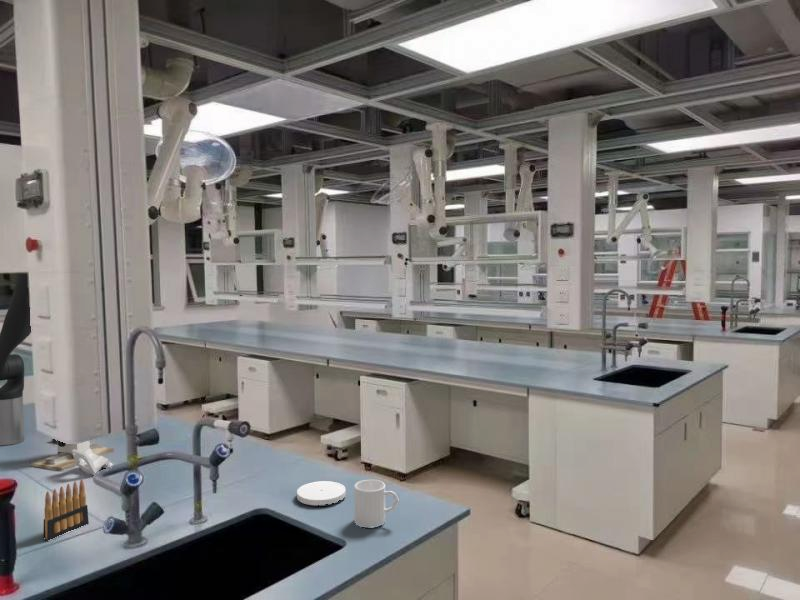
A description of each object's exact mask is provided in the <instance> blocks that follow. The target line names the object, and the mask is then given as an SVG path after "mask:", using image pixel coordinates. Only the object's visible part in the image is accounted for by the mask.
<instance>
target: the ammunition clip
mask: <svg viewBox="0 0 800 600" xmlns="http://www.w3.org/2000/svg"><path fill="white" fill-rule="evenodd" d="M65 488H66V490H65V489H64V487H63V486H60V488H59V491H57V489H56V488H54V489H53V491H52V497H51V494H50V492H49V491H46V493H45V497H44V498H45V499H44V501H45V502H44V519H43V539H44V538H45V539H46V540H50V539H53V538H55V537H57V536H59V535H62V534H64V533H66V532H68V531H71V530H74V529H76V530H78V529H80V528H82V527H81V526H83V527H85V526H86V524H87V525H90V524H89V522H90V521H89V511H88V504H87V496H86V488H85V482H84V480H83V478H81V479H80V482H79V486H78V484H77V481H74V482H73V485H72V487H71V485H70V484H69V483H67V485H66V487H65ZM58 492H59V494H58ZM84 525H85V526H84ZM79 527H80V528H79ZM77 528H78V529H77ZM74 531H75V530H74ZM71 532H72V531H71ZM64 535H65V534H64ZM62 536H63V535H62ZM55 539H56V538H55ZM46 540H45V541H46ZM53 540H54V539H53Z"/></svg>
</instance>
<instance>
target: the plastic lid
mask: <svg viewBox="0 0 800 600" xmlns="http://www.w3.org/2000/svg"><path fill="white" fill-rule="evenodd" d="M345 495H346V496H347V488H346V486H345V485H343V484H342V483H339V482H336V481H328V480H322V481H321V480H320V481H314V482H313V481H312V482H309V483H305V484H302V485H301V486H299V487H298V488H297V490H296V499H297V501H298V502H300V503H302V504H305V505H309V506H318V505H319V506H326V505H325V504H328V505H332V503H334V504H336V503H338V501H339V500H341V501H342V500H344V499H345V498H346V496H345ZM344 497H345V498H344ZM343 498H344V499H343ZM339 502H340V501H339Z"/></svg>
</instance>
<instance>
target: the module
mask: <svg viewBox="0 0 800 600" xmlns="http://www.w3.org/2000/svg"><path fill="white" fill-rule="evenodd" d="M90 443H91V442H90V441H86V442H83V443H79V444H66V443H65V446H64V447H60V446H59V445H58V440H57V443H56V444H57V454H61V453H71V454H72V450H74V449H75V450H78V451H81V452H84V451H86V450H87V449H89V448H90ZM73 459H74V457H73Z"/></svg>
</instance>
